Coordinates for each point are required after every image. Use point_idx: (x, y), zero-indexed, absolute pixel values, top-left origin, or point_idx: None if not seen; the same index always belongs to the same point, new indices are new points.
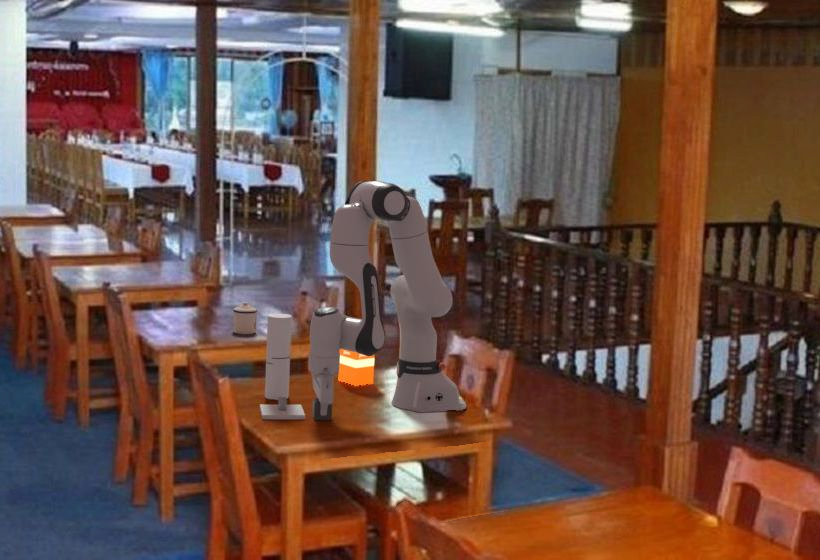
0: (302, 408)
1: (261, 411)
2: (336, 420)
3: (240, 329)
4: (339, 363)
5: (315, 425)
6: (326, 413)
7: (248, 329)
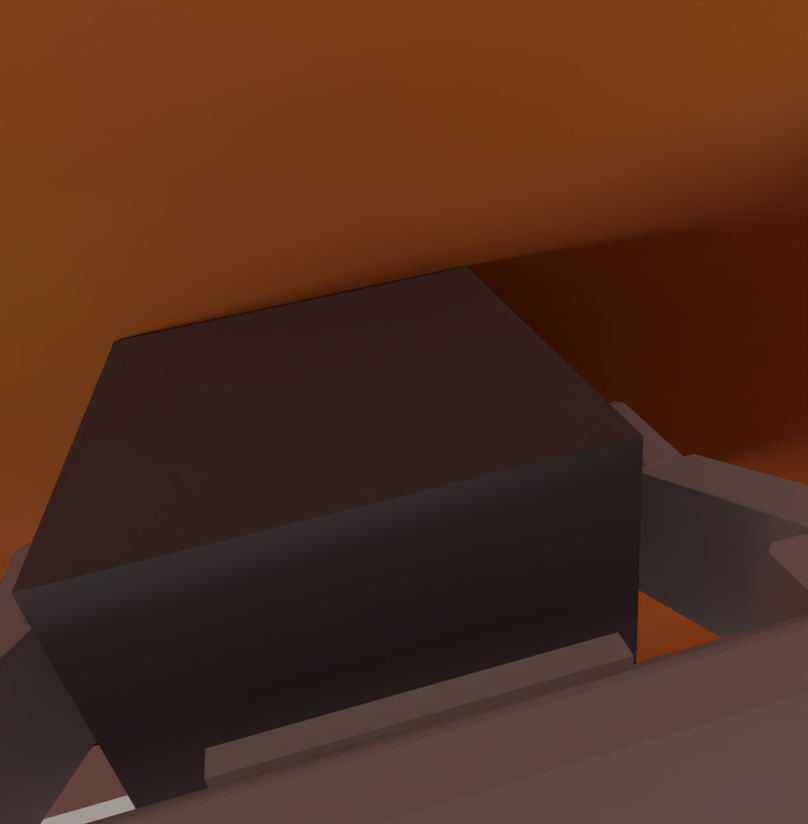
0: (79, 810)
1: None
2: (488, 161)
3: None
4: None
5: (783, 465)
6: (634, 417)
7: None
